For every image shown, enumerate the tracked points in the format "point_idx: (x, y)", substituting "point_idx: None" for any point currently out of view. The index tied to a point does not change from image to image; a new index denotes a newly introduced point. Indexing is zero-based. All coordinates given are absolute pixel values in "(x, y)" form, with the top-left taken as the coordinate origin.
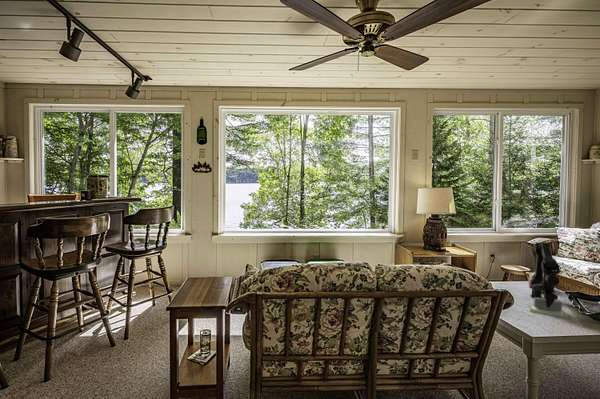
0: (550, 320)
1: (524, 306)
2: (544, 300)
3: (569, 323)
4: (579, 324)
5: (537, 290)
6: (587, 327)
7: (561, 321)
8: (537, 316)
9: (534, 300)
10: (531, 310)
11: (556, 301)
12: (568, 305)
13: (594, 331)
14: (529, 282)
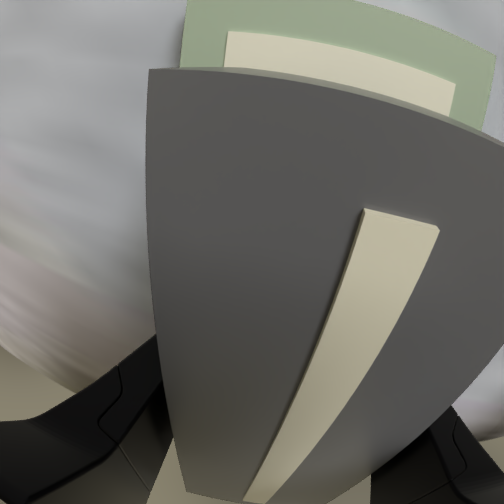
0: (14, 192)
1: (476, 8)
2: (174, 386)
3: (56, 319)
4: (89, 369)
5: None
6: (70, 378)
7: (55, 282)
8: (46, 75)
9: (396, 100)
10: (194, 5)
11: (244, 491)
12: (493, 433)
13: (38, 371)
14: None
